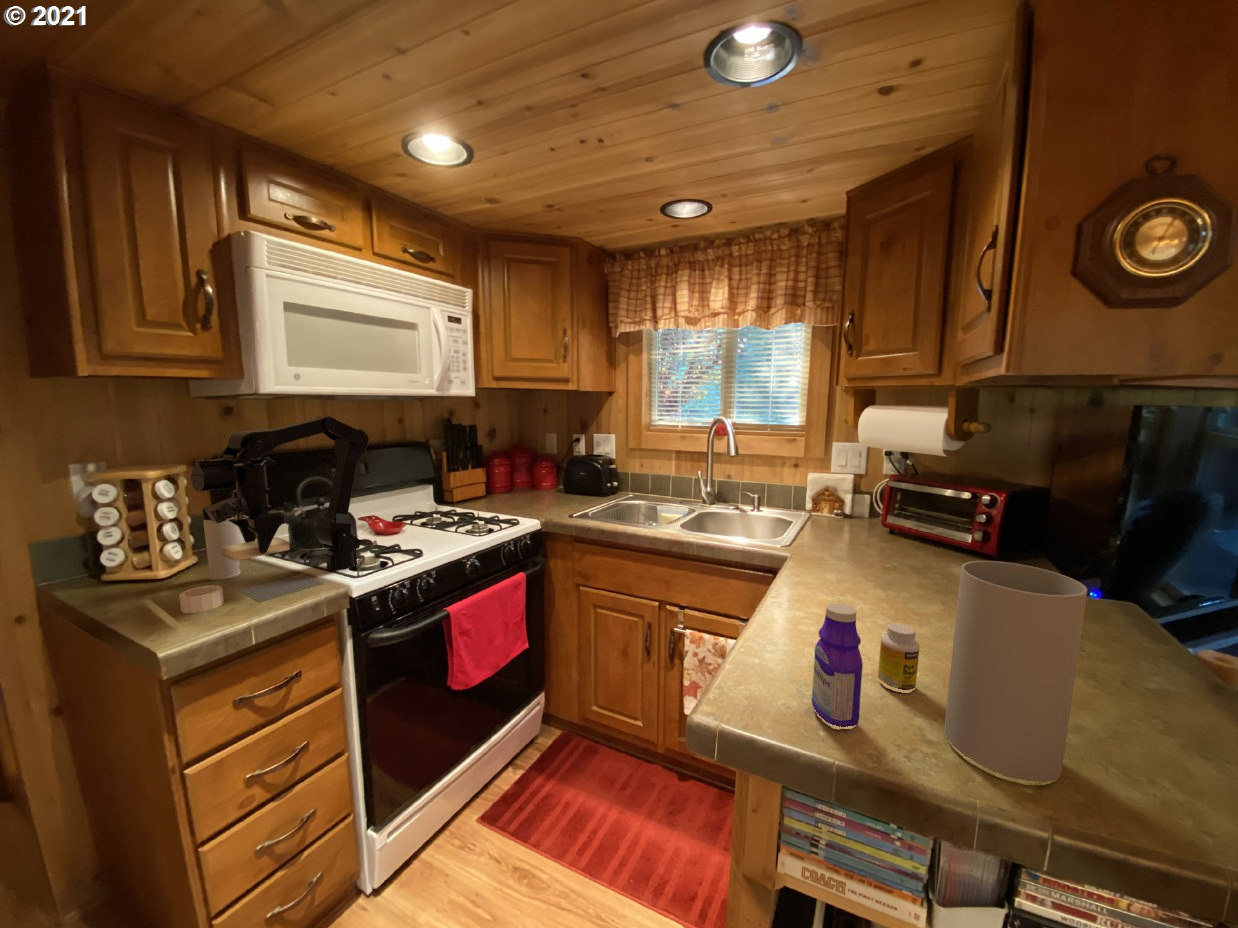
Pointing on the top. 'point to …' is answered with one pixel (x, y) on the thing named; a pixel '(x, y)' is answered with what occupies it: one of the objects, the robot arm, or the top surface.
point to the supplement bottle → (899, 657)
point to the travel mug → (220, 548)
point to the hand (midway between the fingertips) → (256, 550)
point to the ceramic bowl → (201, 599)
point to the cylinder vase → (1014, 667)
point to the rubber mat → (281, 587)
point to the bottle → (838, 667)
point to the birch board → (253, 549)
